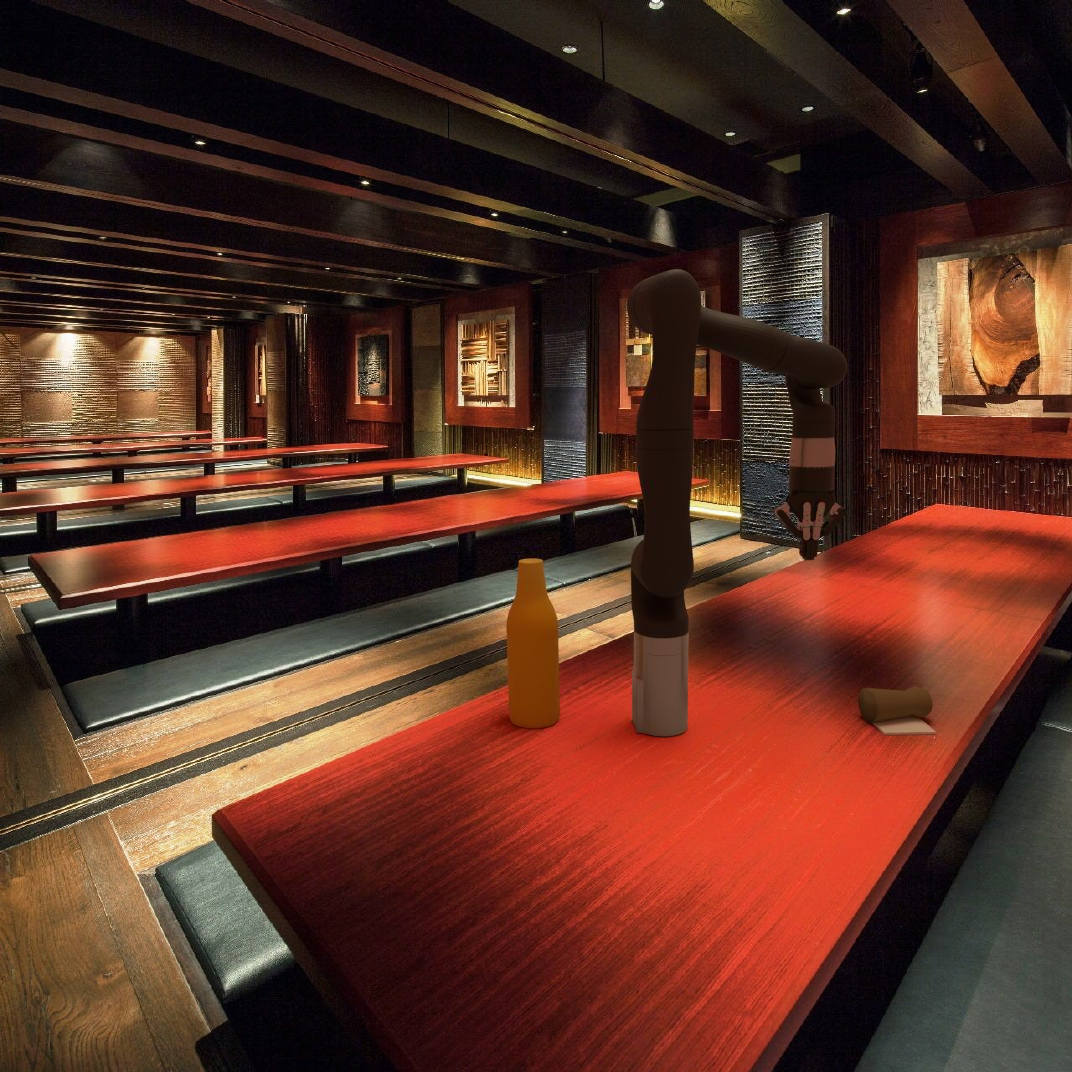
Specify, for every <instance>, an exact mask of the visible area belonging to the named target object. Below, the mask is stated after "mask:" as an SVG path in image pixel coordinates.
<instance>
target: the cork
mask: <svg viewBox="0 0 1072 1072" xmlns="http://www.w3.org/2000/svg"><path fill="white" fill-rule="evenodd" d="M857 698H858V701H857V702H858V708H859V709H858V710H859V713H860V714H861V715H860V716H861V717H862V718H863V720H864V721H865V722H867V724H873V723H875V722H880V721H885V720H889V719H894V718H898V717H903V716H908V715H912V716H914V717H919V718H924V717H927V716H928V715H930V713H931V712H932V710H933V699H932V697H931V694H930V692H929V691H927V690H926V689H925V688H923V687H921V686H911V687H909V688H908V689H906V690H902V689H900V690H899V689H886V688H885V689H884V688H873V687H872V688H871V687H862V688H861V690H860V691H859V693H858V697H857Z"/></svg>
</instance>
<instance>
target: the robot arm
mask: <svg viewBox="0 0 1072 1072" xmlns="http://www.w3.org/2000/svg"><path fill="white" fill-rule="evenodd" d="M627 297H628V298H627V300H626V301H627V302H626V310H627V316H628V318H629V320H630V322H631V324H632V325H634V327H635V328H636V329H637V330H639V331H640V332H642V333H644V334H646V335H651V338H652V339H651V342H652V343H651V345H652V346H651V347H652V348H651V349H652V351H651V353H652V355H651V356H652V357H651V358H652V359H651V366H650V371H649V376H648V379H647V382H646V385H645V386H644V387H645V388H644V391H643V394H642V396H641V399H640V403H639V406H638V409H637V412H636V413H637V414H636V421H635V429H636V430H635V459H636V468H637V469H636V471H637V474H638V481H639V486H640V491H641V496H642V501H643V507H644V528H643V531H644V532H643V539H641V541H640V542H638V544H637V545H636V546H635V548H634V550H633V551H632V555H631V560H630V595H631V596H630V599H631V600H630V603H631V613H632V618H633V668H632V669H631V670H632V671H631V683H632V684H631V686H632V687H631V689H632V690H631V691H632V693H631V699H632V702H631V707H632V708H631V713H632V714H631V716H632V717H631V719H632V722H633V726H634V730H635V733H636V734H645V735H649V736H655V737H672V736H673V737H674V736H677V735H680V734H682V733H684V732H686V731H687V729H688V725H689V724H688V719H689V713H688V712H689V711H688V710H689V709H688V708H689V707H688V706H689V633H690V629H689V628H690V627H689V626H690V620H689V619H690V618H689V614H688V613H689V612H688V610H687V607H686V600H685V590H686V589H687V588H688V586H689V585H690V583H691V582H692V579H693V575H694V570H695V562H694V560H695V559H694V553H693V542H692V541H693V540H692V529H691V527H692V526H691V500H692V499H691V497H692V487H693V486H692V484H693V467H694V466H693V464H694V439H695V438H694V436H695V435H694V434H695V431H694V428H695V421H694V420H695V419H694V418H695V417H694V416H695V414H694V411H695V410H694V409H695V408H694V407H695V406H694V405H695V375H696V374H695V373H696V372H695V370H696V368H695V367H696V357H697V356H696V355H697V348H698V346H699V347H702V348H707V349H709V350H711V351H714V352H718V353H720V354H722V355H725V356H727V357H730V358H732V359H735V360H738V361H741V362H743V363H746V364H748V365H750V366H752V367H755V368H757V369H760V370H763V371H765V372H767V373H770V374H775V375H776V374H777V375H785V386H786V389H787V390H786V391H787V395H788V400H789V405H790V408H791V411H792V423H791V424H792V425H791V426H792V429H791V430H792V431H791V437H792V438H791V444H790V449H789V458H788V462H789V469H788V470H789V471H788V472H789V473H788V494H787V496H786V498H785V502H784V503H783V504H782V505H781V506H780V507H775V508H774V509H773V512H772V513H774V515H775V517H776V518H777V519H778V521H779V522H780V523H781V524H782V526H783V527H784V528H785V530H787V532H788V533H789V535H792V536H794V537H795V538H798V540H799V541H798V542H799V547H798V550H799V551H798V553H799V556H800V557H801V558H802V560H804V561H814V560H815V558H817V557H818V554H819V553H818V551H819V549H818V547H819V540H820V538H823V537H828V536H829V535H831V533H832V532H833V531H834V530H835V528H836V527H837V526H838V525H839V523H840V522H841V521H842V520H843V519H844V518H845V517H846V515H847V514H848V509H847V508H845V507H842V506H841V505H840V504H838V503H837V502H836V497H835V494H834V488H835V468H836V467H835V466H836V465H835V464H836V444H835V434H836V433H835V432H836V431H835V429H836V410H835V407H834V406H833V405H831V404H830V403H827V402H824V401H823V398H822V393H821V389H823V390H824V389H829V388H833V387H835V386H837V385H840V383H841V382H842V381H843V380H844V379H845V378H846V375H847V373H848V362H847V361H848V360H847V358H846V356H845V355H844V354H843V352H842V351H841V350H840V349H839V348H837V347H835V346H833V345H832V344H829V343H826V342H822V341H819V340H815V339H811V338H807V337H801V336H797V335H793V334H790V333H788V332H787V331H785V330H783V329H780V328H777V327H776V326H773V325H771V324H768V323H766V322H763V321H760V320H759V319H758V320H757V319H754V318H751V317H746V316H741V315H736V314H731V313H727V312H721V311H718V310H714V309H711V308H708V307H705V306H703V305H702V295H701V291H700V287H699V284H698V283H697V281H696V280H695V278H694V277H693V275H691V274H690V273H689V272H688V271H686V270H683V269H679V268H676V269H675V268H674V269H670V270H667V271H663V272H659V273H658V274H654V275H652V276H649V277H647V278H645V279H643V280H641V281H640V282H638V283H637V284H635V286H634V287H632V289H631V291H630V292H629V294H628V296H627ZM790 511H791V513H792V514H793V515H794V517H795V518H796V520H797V526H796V525H795V523H794V522H793V521H792V520H791V518H790V517H789V516H791V513H790ZM828 513H829V514H830V515H829V516H828V517H827V519H826V520H825V521H824V518H825V517H826V516H827V514H828ZM823 521H824V522H823Z"/></svg>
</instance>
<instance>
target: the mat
mask: <svg viewBox="0 0 1072 1072" xmlns="http://www.w3.org/2000/svg"><path fill="white" fill-rule="evenodd" d="M872 725H874V727H876V728H877V730H879V731H880V732H881V733H882V734H883V735H884V736H892V735H893V736H898V735H900V736H901V735H902V736H904V735H905V736H906V735H911V736H912V735H936V734H937V731H936V730H934V729H933V728H932V727H931V726H930V725H928V724H927V723H926V722H925V721H924V720H922V719H921V717H914V716H912V715H908V716H903V717H898V718H894V719H889V720H885V721H880V722H875V723H872Z"/></svg>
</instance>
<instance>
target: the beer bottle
mask: <svg viewBox="0 0 1072 1072" xmlns="http://www.w3.org/2000/svg"><path fill="white" fill-rule="evenodd" d="M517 567H518V568H517V577H516V578H517V580H516V589H515V590H516V591H515V596H514V599H513V601H512V603H511V606H510V609H509V610H508V613H507V617H506V628H505V629H506V652H507V658H506V659H507V686H508V687H507V688H508V691H507V694H508V717H509V719H510V721H511V723H512V724H513V725H515V726H517V727H520V728H524V729H541V728H548V727H550V726H553V725H554V724H556V723H557V722H558V721H559V718H560V716H561V715H560V714H561V701H560V666H559V665H560V657H559V656H560V655H559V653H560V651H559V647H560V646H559V621H558V615H557V611H556V609H555V607H554V606H553V603H552V601H551V600H550V597H549V595H548V591H547V582H546V576H545V575H546V574H545V569H544V568H545V567H544V561H543V559H541V558H524V559H522V558H521V559H520V560H518V566H517Z"/></svg>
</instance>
